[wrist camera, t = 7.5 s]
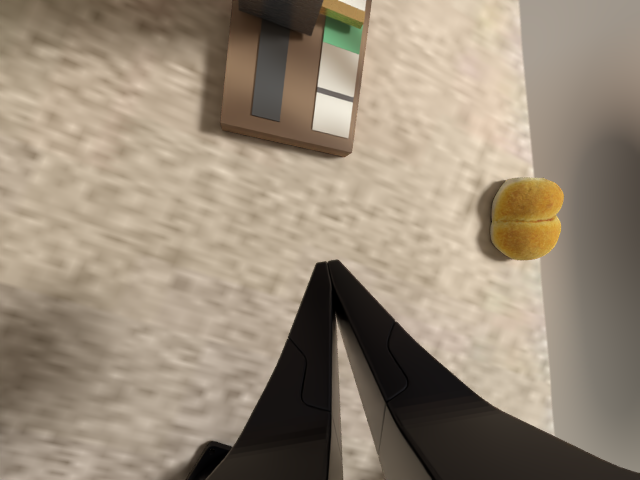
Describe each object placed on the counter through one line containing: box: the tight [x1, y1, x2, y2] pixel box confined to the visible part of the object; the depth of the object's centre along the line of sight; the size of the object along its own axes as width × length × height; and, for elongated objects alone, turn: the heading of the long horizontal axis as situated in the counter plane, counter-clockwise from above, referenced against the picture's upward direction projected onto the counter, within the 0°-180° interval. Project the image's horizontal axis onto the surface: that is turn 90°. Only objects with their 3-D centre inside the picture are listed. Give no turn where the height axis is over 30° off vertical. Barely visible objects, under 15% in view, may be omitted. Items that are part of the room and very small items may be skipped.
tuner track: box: [220, 0, 372, 157], centre depth 19 cm, size 12×10×2 cm
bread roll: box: [490, 178, 564, 260], centre depth 26 cm, size 8×9×4 cm
